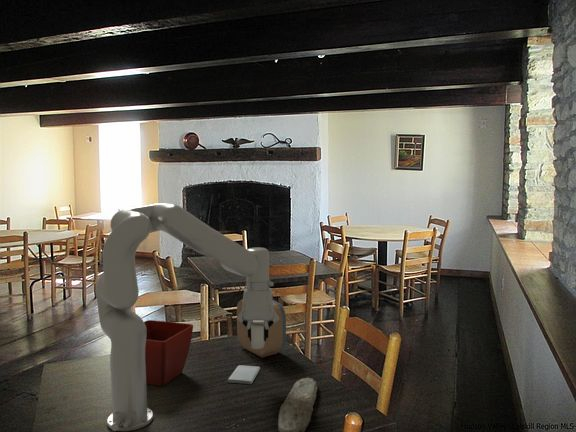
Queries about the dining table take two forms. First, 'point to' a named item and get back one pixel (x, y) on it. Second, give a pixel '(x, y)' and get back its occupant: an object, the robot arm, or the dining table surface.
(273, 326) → the alarm clock
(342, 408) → the dining table surface
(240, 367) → the hard drive
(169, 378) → the plant pot
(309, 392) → the long grey stone
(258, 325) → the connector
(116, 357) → the robot arm
